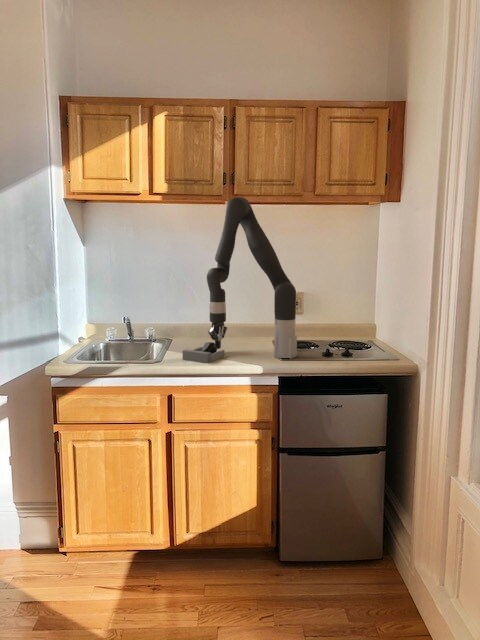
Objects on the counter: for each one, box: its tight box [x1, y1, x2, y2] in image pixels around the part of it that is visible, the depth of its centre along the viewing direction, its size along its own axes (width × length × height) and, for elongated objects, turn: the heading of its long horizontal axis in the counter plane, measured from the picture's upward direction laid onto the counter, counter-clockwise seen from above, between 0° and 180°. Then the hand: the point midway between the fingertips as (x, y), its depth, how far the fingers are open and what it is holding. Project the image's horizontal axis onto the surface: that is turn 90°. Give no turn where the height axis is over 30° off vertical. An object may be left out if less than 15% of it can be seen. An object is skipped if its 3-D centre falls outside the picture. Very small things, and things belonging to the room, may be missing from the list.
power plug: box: [201, 341, 218, 354], centre depth 228 cm, size 6×8×12 cm
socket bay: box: [181, 346, 226, 364], centre depth 225 cm, size 13×14×4 cm
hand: (218, 348), depth 235 cm, fingers closed
